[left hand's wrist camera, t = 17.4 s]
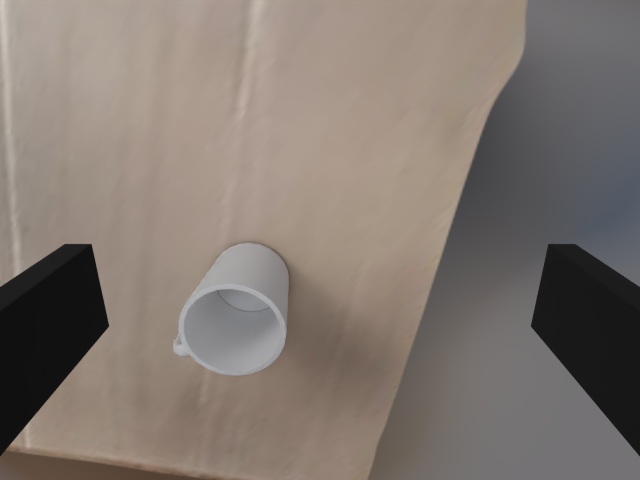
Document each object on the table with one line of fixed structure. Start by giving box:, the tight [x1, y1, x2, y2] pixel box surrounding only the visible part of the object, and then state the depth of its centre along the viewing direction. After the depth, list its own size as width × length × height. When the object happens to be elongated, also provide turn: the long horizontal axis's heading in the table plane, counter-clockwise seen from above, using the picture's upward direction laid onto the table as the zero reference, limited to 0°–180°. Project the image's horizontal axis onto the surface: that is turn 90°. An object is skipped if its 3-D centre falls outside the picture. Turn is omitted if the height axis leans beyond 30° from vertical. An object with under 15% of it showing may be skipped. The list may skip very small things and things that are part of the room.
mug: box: [173, 242, 289, 376], centre depth 40 cm, size 11×9×10 cm
